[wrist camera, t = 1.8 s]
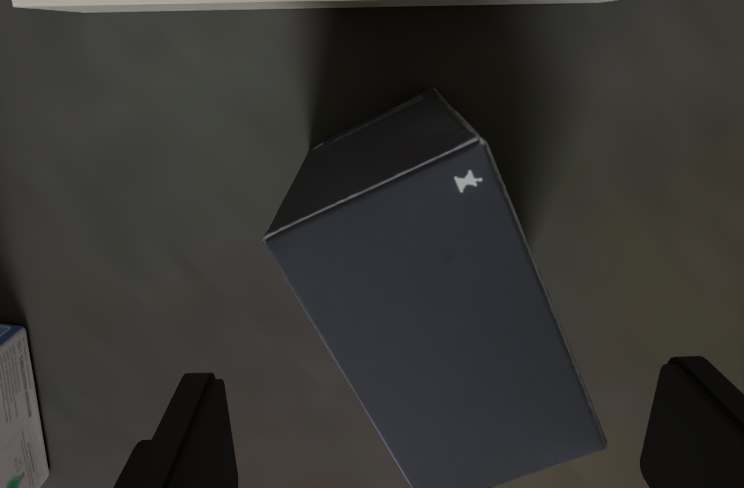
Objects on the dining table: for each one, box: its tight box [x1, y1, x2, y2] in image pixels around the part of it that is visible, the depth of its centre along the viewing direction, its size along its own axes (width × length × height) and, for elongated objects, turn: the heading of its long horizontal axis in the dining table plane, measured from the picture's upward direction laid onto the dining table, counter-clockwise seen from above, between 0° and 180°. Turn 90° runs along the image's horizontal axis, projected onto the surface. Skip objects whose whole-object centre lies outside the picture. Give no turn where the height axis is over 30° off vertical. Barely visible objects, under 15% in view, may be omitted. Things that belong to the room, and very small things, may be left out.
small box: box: [263, 87, 607, 488], centre depth 19 cm, size 11×6×10 cm, turn 26°
